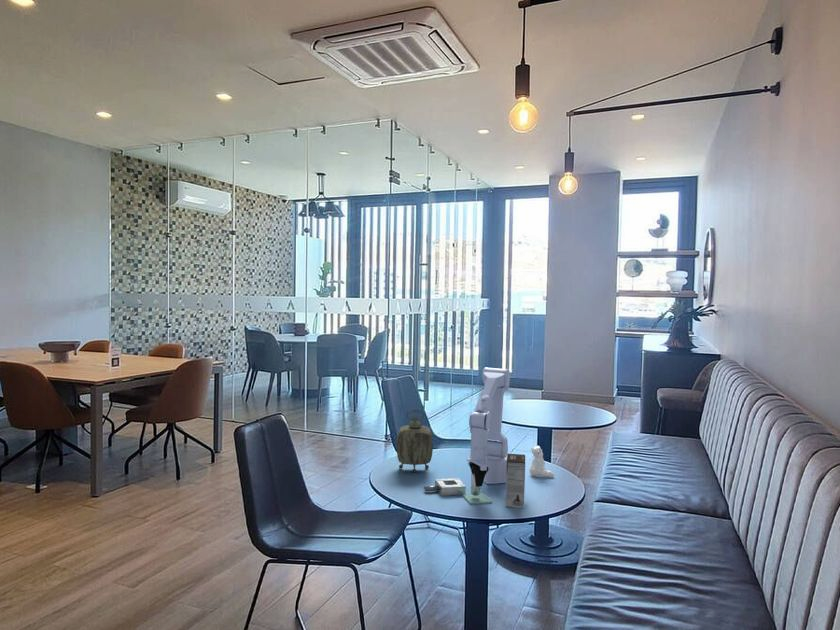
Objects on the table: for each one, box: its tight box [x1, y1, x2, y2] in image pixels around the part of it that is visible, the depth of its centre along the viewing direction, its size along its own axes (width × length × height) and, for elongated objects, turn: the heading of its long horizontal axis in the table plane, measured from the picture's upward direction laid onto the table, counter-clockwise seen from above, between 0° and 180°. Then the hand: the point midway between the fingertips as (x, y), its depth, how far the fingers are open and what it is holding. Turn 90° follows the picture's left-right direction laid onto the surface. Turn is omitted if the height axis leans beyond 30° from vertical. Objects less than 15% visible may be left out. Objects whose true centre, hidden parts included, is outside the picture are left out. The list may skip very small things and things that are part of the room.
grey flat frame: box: [423, 477, 467, 497], centre depth 199 cm, size 14×9×3 cm, turn 104°
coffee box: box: [505, 453, 526, 509], centre depth 189 cm, size 9×6×16 cm
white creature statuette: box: [528, 445, 555, 479], centre depth 220 cm, size 10×9×12 cm
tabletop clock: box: [396, 409, 434, 474], centre depth 221 cm, size 14×9×25 cm, turn 92°
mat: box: [462, 492, 493, 506], centre depth 191 cm, size 8×8×1 cm
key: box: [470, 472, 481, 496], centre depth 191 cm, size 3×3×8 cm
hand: (477, 484), depth 191 cm, fingers closed on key, 3 cm apart
